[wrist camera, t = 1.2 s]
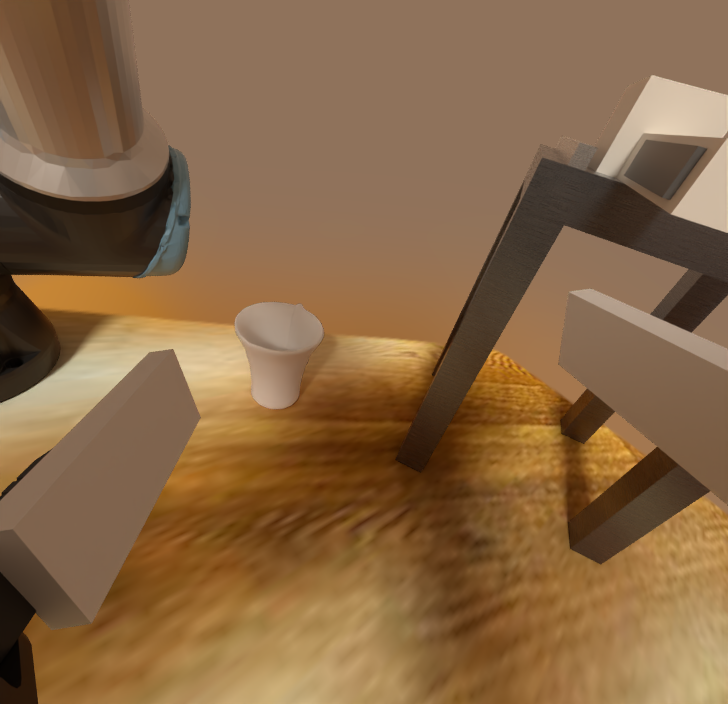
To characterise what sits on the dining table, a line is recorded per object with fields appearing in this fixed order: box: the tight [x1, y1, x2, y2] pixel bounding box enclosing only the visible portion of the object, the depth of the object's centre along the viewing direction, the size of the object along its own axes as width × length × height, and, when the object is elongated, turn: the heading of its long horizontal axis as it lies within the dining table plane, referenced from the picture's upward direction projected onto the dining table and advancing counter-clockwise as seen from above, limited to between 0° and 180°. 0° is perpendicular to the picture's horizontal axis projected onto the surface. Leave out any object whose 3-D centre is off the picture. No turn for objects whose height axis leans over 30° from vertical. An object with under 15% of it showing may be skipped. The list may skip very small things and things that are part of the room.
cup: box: [235, 302, 324, 409], centre depth 40 cm, size 9×9×10 cm
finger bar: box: [588, 75, 728, 233], centre depth 19 cm, size 19×5×5 cm, turn 156°
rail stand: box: [395, 136, 728, 564], centre depth 36 cm, size 20×22×31 cm
